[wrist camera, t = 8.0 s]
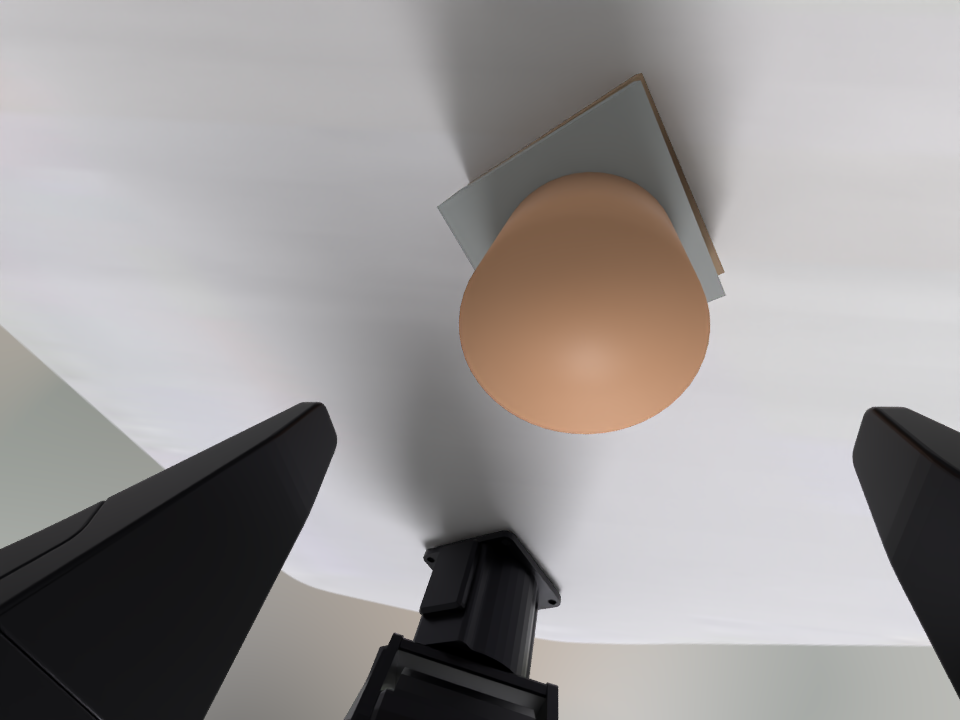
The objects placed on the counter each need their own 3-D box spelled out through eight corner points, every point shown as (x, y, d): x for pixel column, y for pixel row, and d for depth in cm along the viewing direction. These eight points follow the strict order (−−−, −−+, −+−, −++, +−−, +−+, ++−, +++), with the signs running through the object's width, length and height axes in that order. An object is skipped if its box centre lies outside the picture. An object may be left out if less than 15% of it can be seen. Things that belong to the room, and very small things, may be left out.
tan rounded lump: (707, 297, 13) (750, 385, 9) (550, 365, 15) (534, 459, 12) (627, 130, 11) (639, 156, 8) (465, 234, 14) (413, 293, 10)
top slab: (708, 266, 15) (725, 295, 13) (542, 336, 18) (534, 370, 15) (633, 81, 13) (640, 80, 11) (459, 191, 16) (436, 207, 13)
